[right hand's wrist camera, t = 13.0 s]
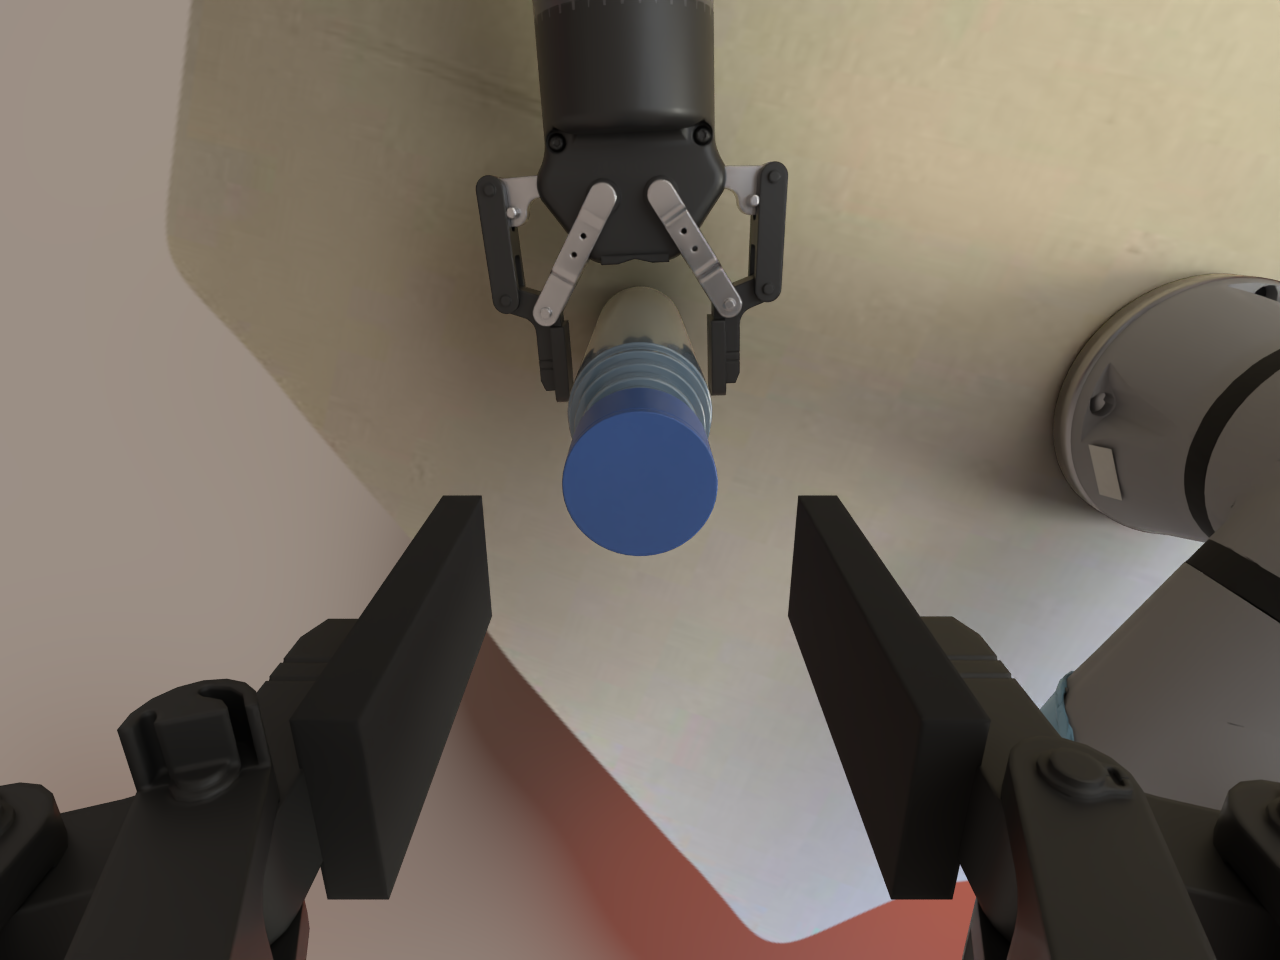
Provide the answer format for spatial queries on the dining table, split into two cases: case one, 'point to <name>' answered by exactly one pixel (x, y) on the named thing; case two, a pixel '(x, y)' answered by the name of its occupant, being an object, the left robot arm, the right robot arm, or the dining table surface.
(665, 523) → the cap
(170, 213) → the dining table surface
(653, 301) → the bottle
